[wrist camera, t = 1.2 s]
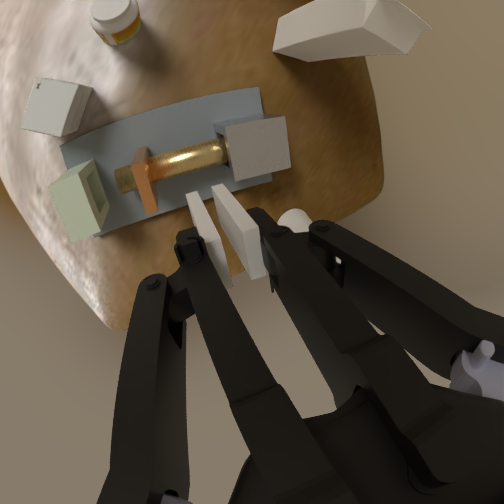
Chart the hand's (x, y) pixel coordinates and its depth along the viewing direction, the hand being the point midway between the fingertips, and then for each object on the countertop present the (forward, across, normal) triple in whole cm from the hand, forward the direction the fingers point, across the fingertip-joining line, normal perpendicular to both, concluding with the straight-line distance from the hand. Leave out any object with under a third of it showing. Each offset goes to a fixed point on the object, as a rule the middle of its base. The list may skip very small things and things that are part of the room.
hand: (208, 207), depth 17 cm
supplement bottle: (+21, -4, +20) cm, 29 cm away
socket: (+19, -13, 0) cm, 23 cm away
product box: (+21, -13, +12) cm, 27 cm away
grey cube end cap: (+19, +8, 0) cm, 21 cm away
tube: (+19, +2, 0) cm, 19 cm away
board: (+20, -2, 0) cm, 21 cm away
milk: (+21, +19, +14) cm, 31 cm away
